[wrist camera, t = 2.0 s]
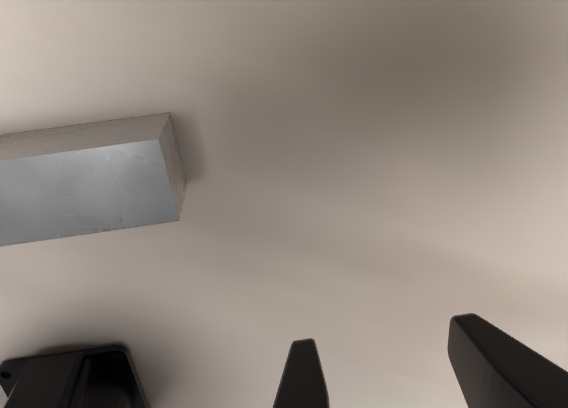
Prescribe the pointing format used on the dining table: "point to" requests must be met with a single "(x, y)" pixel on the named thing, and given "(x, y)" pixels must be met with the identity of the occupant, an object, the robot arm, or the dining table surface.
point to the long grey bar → (89, 178)
